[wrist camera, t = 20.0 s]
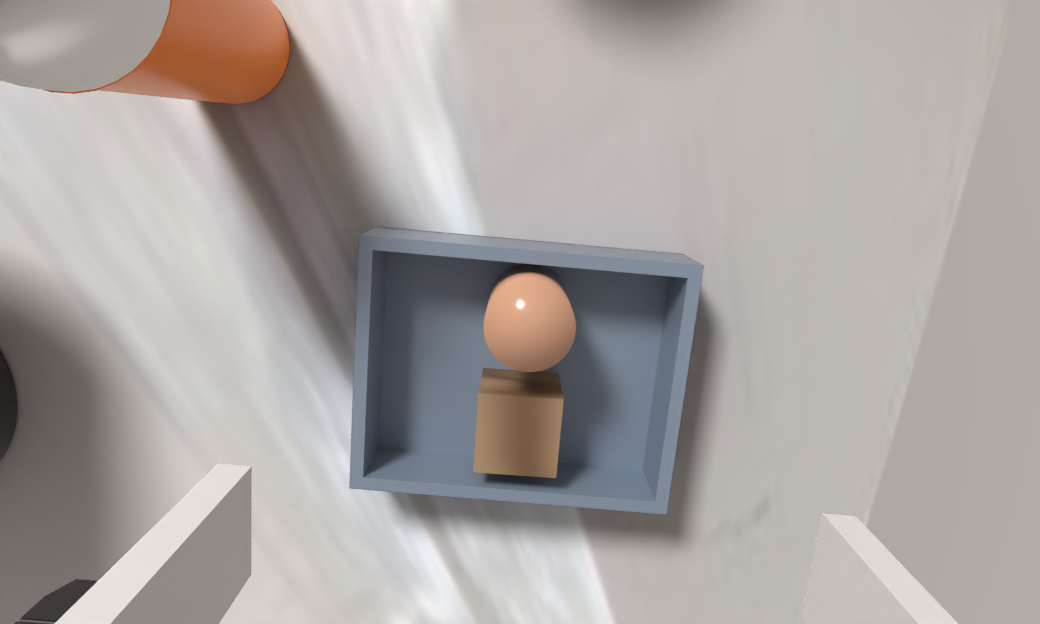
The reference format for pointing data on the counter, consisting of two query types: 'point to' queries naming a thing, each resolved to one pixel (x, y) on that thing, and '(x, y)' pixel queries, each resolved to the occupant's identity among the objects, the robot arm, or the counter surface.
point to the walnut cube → (518, 423)
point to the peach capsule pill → (529, 319)
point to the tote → (464, 353)
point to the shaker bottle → (145, 47)
